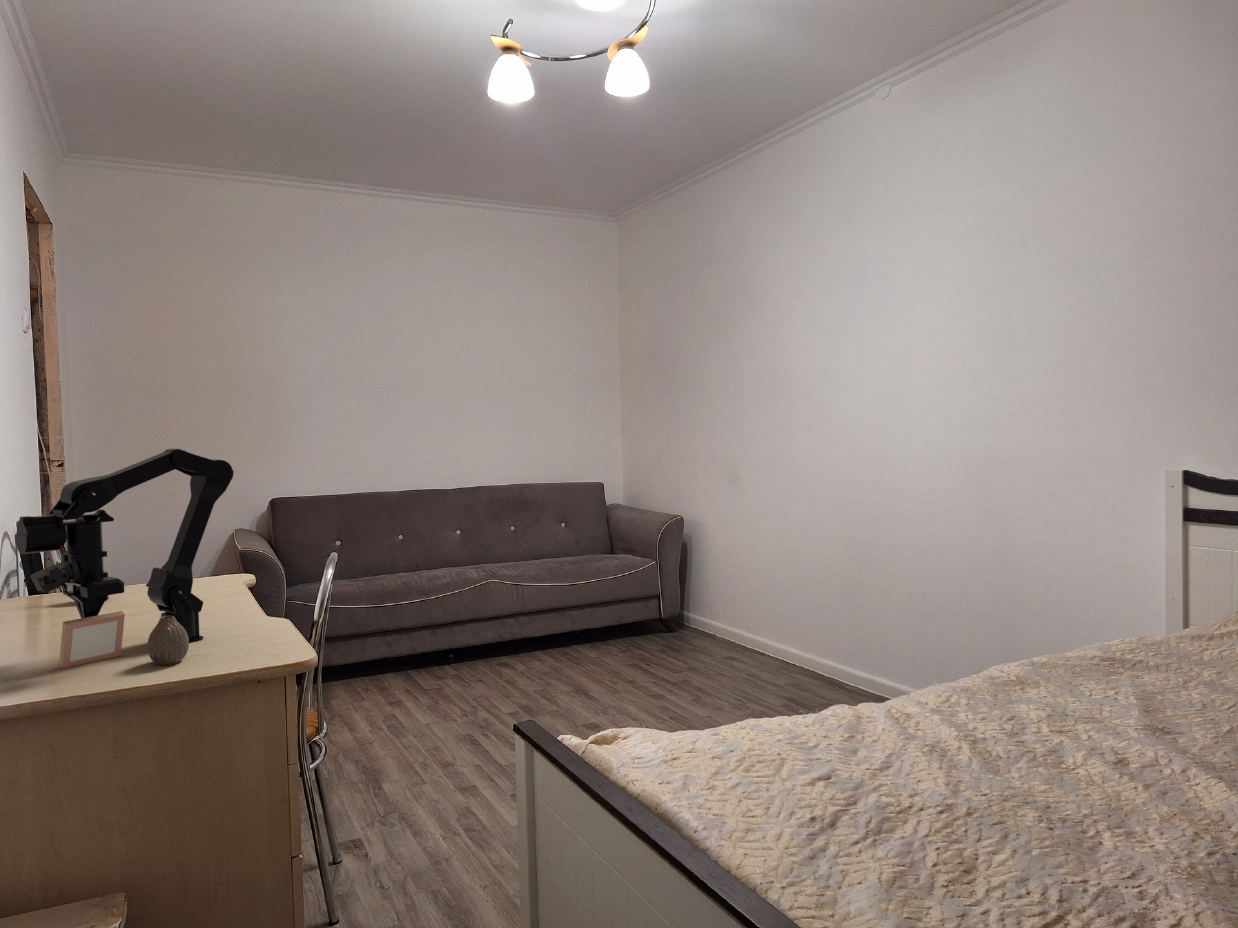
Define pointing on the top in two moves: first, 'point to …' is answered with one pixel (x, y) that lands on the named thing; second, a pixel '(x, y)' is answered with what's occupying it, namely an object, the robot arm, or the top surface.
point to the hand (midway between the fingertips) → (88, 627)
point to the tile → (91, 639)
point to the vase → (168, 642)
